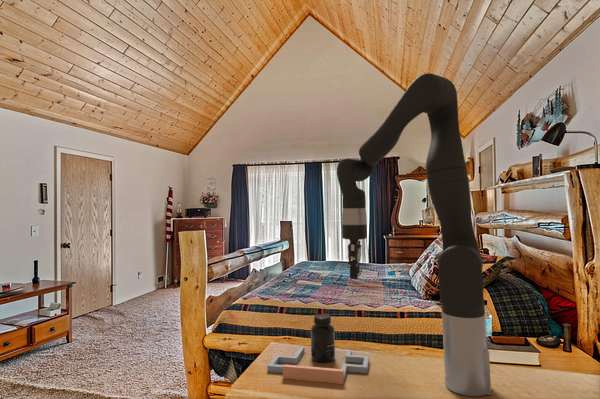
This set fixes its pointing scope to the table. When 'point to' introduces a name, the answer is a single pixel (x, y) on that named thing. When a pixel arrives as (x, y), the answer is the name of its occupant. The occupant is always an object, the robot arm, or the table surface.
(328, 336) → the supplement bottle
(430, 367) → the table surface
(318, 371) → the grey zigzag frame
